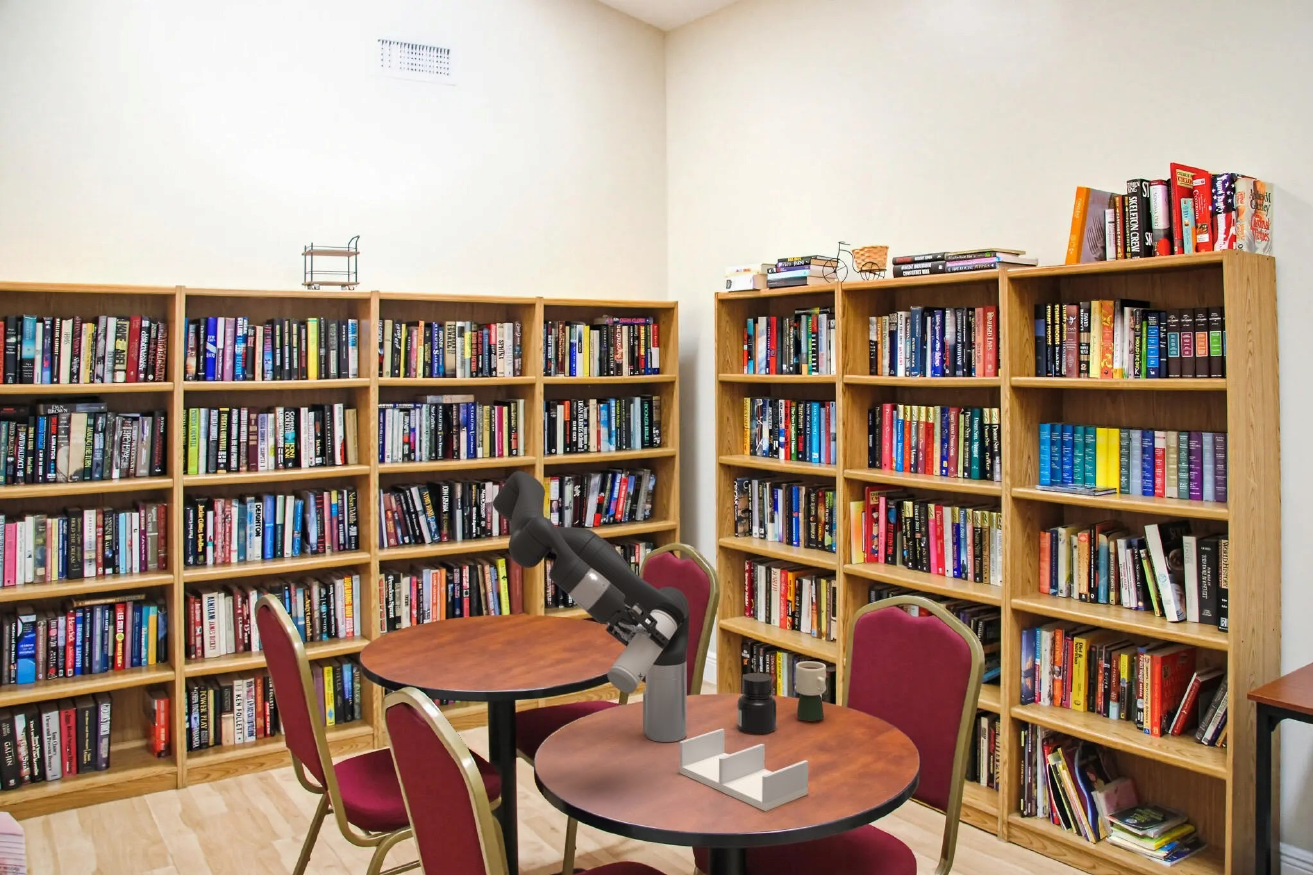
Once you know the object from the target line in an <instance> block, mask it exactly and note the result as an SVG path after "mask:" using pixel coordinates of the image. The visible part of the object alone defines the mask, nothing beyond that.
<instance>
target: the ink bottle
mask: <svg viewBox="0 0 1313 875" xmlns="http://www.w3.org/2000/svg"><path fill="white" fill-rule="evenodd" d="M741 677H742V681H741V682H742V687H741V691H742V695H741V696H740V697H739V698H738V699H737V729H738V730H740V731H742V732H744V733H748V734H754V735H765V734H770V733H772V732H774V731H775V730H776V729H777V700H776V699H775V698H774V697H773V695H772V693H773V691H772V690H773V677H772V676H771V675H770V674H767V673H761V672H750V673H746V674H744V675H742V676H741Z"/></svg>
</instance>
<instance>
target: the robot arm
mask: <svg viewBox="0 0 1313 875" xmlns="http://www.w3.org/2000/svg"><path fill="white" fill-rule="evenodd" d="M545 496H546V489H545V487H544V485H543V484H542V483H541V482H540V480H538V479H537V478H535V476H533V475H531V474H529V473H527V472H525V471H522V470H521V471H520V470H518V471H515V472H513V473H512V474H511V475H510V476H508V478H507V480H506V481H505V483H504V484H503V486H502V487H500V489H499V491H498V493H497V495H496V496H495V498H494V499H493V500H492V507H493V508H494V510H495V511H496V512H497V513H498V514H499V515H500V516H502V517H503V518H504V519H506V520H507V521H508V522H510V523H511V526H512V532H511V535H510V538H509V541H508V552H509V554H510V556H511V558H512V560H513V561H514V562H515V563H516V565H519V566H520V567H522V568H526V569H531V568H534V567H537V566H538V565H539V564H540V563H541V562H542V561H543V559H544V558H545V557H546V556H547V555H548V554H549V552H551V551H552V552H553V553H554V554H556V558H555V561H554V563H553V565H552V566H551V568H550V570H549V572H548V577H549V579H550V580H551V581H552V582H553V583H554V584H555V585H556V586H558V587H559V588H560V589H561V590H562V591H564V593H566V594H567V595H568V596H569V597H570V598H571V599H572V601H573V602H575V603H576V604H577V606H579V607H580V608H581V609H582V610H584V611H585V612H586V613H587V614H588V615H590V616H591V618H593V620H595V621H596V622H598V623H599V624H600V625H604V624H606V623H608V625H607V627H606V628H605V631H606V632H607V633H608V634H609V635H610V636H612V637H613V638H615V640H617V641H618V642H620V644H622V645H624V646H625V648H626V647H627V645H628V644H629V643H630V641H631V640H632V638H633V637H634V636H635V634H636V633H642V634H644V635H646V636H648V637H649V638H650V639H651V640H652V641H654V642H655V643H656V644H657V645H658V646H659V647H660V648H662V649H663V650H662V651H661V653H660V654H659V656H658V657H657V659H656V660H655V662H654V663H653V665H652V666H651V668H650V669H649V671H648V672H647V673H646V675H645V690H644V691H643V692H642V733H643V734H645V737H646V738H647V739H649V740H651V741H654V742H660V743H673V742H678V741H679V742H680V741H683V740H684V739H685V738H686V737H687V716H688V715H687V714H688V713H687V708H688V707H687V696H688V695H687V690H688V689H687V680H688V678H687V677H688V676H687V671H688V670H687V661H688V658H687V657H688V655H687V654H688V647H689V642H690V641H689V640H690V635H689V634H690V606H689V601H688V599H687V597H686V596H685V594H684V593H683V592H682V591H681V589H678V588H676V587H672V586H665V587H661V588H659V589H658V588H656V587H655V586H653V585H652V584H650V583H649V582H647V581H646V580H645V579H643V578H642V577H641V576H639V575H638V574H637V573H636V572H635V571H634V570H633V569H632V567H631V566H630V565H629V564H628V562H627V561H626V560H625V559H624V557H623V556H622V554H620V552H619V551H618V550H617V549H616V548H615V547H614V546H613V545H612V544H610V543H609V542H608V541H607V540H605V539H604V538H602V537H601V536H600V535H598V534H597V533H596V532H594V531H593V530H591V529H587V528H582V527H567V526H557V525H555V524H554V523H553V522H552V520H551V519H549V518H547V517H545V515H544V504H545ZM662 602H667V603H670V604H673V605H674V606H676V607H678V608H679V609H680V610H681V611H682V612H683V614H684V618H685V620H684V622H682V623H680V625H679V626H678V628H677V629H676V631H675V632H674V634H673V635H672V637H671V638H670V640H669V639H668V638H666V637H665V636H664V635H663V634H662V633H661V632H659V631H658V630H657V629H656V625H657V623H658V622H657V620H656V619H654V618H653V617H652V616H651V615H650V613H651V612H652V611H653V609H654V608H655V607H656V605H657V604H658V603H662ZM647 619H648V620H649V621H650V622H649V621H647ZM643 627H644V628H645V629H646V630H645V629H643Z"/></svg>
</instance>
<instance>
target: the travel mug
mask: <svg viewBox="0 0 1313 875" xmlns="http://www.w3.org/2000/svg"><path fill="white" fill-rule="evenodd" d="M650 615H651V616H652V617H653V618H654V619H656V620H657V622H658V623H657V625H656V629H657V630H658V631H659V632H661V633H662V634H663V635H664V636H665V637H666V638H668V639H669V640H670V638H671V637H672V635H673V634H674V632H675V631H676V629H677V628H678V626H679V625H680V623H682V622H684V620H685V618H684V614H683V612H682V611H681V610H680V609H679V608H678V607H676V606H674V605H673V604H670V603H667V602H662V603H658V604H657V605H656V607H655V608H654V609H653V611H652V612H651V613H650ZM647 621H649V620H648V619H647ZM649 622H650V621H649ZM643 629H645V628H644V627H643ZM645 630H646V629H645ZM662 650H663V649H662V648H660V647H659V646H658V645H657V644H656V643H655V642H654V641H652V640H651V639H650V638H649V637H648V636H646V635H644V634H642V633H636V634H635V636H634V637H633V638H632V640H631V641H630V643H629V644H628V645H627V647H626V646H625V647H624V650H623V651H622V653H621V654H620V655H619V657H618V658H617V660H615V662H614V664H613V665H612V666H611V668H610V670H608V672H607V675H606V676H607V679H608V681H609V683H610V684H611V685H612V686H613V687H615V689H617V690H619V691H620V692H623V693H624V694H633V693H635V691H636V689H637V688H638V686H640V683H642V681H643V679H644V678H645V677H646V673H647V672H648V671H649V669H650V668H651V666H652V665H653V663H654V662H655V660H656V659H657V657H658V656H659V654H660V653H661V651H662Z"/></svg>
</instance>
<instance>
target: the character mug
mask: <svg viewBox="0 0 1313 875" xmlns="http://www.w3.org/2000/svg"><path fill="white" fill-rule="evenodd" d="M826 678H827V665H826V664H825V663H822V662H819V661H808V660H807V661H800V662H796V663H795V692H796V693H798V694H800V695H799V697H798V702H797V712H796V717H797V719H799V720H802V721H812V722H815V721H821V720H822V721H823V719H824V718H825V717H824V714H825V713H824V707H823V706H824V704H823V699H822V696H821V695H822V694H824V693H825V692H826V690H827V687H826Z"/></svg>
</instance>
